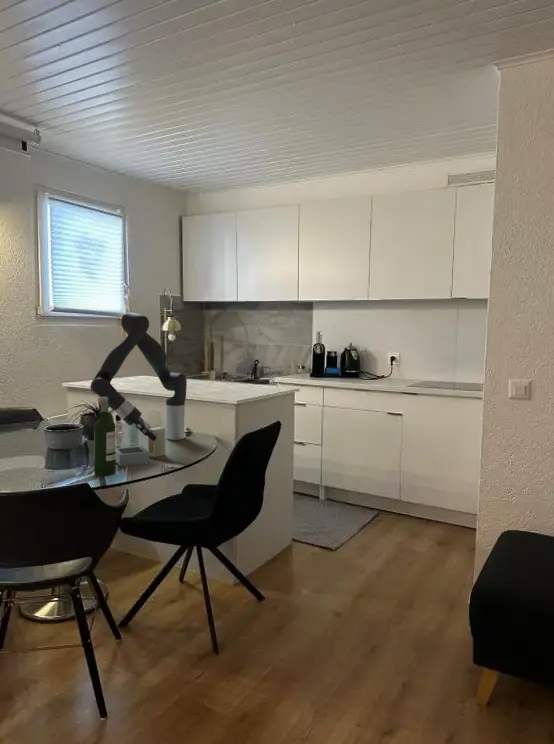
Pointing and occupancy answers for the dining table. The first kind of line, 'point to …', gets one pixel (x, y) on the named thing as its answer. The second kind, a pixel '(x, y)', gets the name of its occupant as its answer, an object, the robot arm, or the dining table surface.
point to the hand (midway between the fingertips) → (154, 437)
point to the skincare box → (157, 442)
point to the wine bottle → (104, 442)
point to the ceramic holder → (131, 456)
